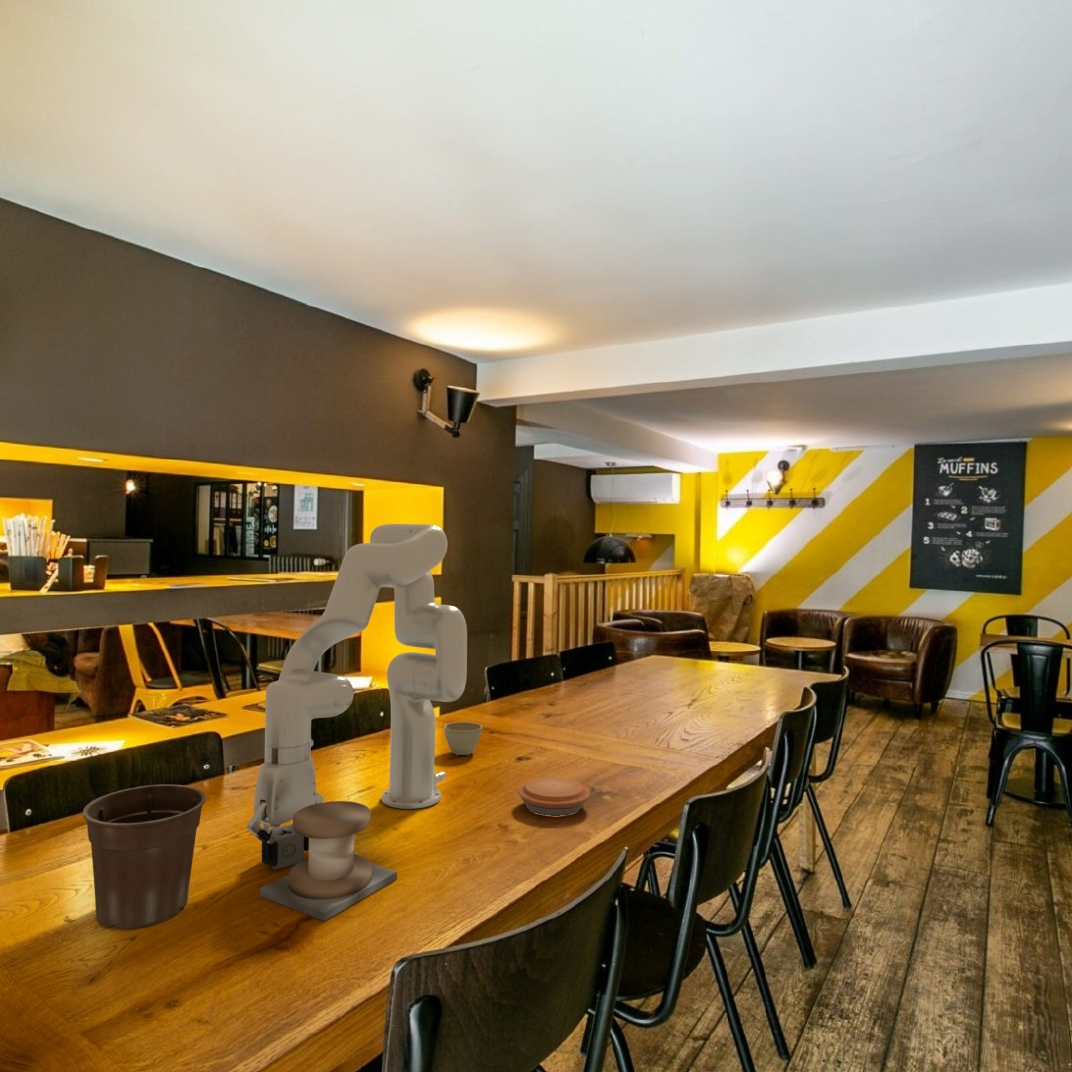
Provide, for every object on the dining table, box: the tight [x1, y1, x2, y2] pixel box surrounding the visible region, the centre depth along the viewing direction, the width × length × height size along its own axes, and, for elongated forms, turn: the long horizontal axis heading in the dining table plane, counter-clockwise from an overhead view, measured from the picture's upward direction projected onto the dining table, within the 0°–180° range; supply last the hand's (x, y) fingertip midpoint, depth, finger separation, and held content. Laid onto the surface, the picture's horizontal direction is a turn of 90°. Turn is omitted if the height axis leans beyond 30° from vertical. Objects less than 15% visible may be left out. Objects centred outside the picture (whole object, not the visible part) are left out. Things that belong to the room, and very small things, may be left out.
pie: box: [517, 776, 591, 816], centre depth 155 cm, size 16×16×5 cm
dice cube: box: [268, 823, 305, 870], centre depth 126 cm, size 5×5×5 cm
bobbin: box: [259, 800, 398, 922], centre depth 117 cm, size 16×14×12 cm
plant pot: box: [82, 784, 207, 931], centre depth 109 cm, size 16×16×16 cm
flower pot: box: [444, 721, 483, 756], centre depth 193 cm, size 10×10×7 cm
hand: (286, 855), depth 126 cm, fingers closed on dice cube, 6 cm apart
